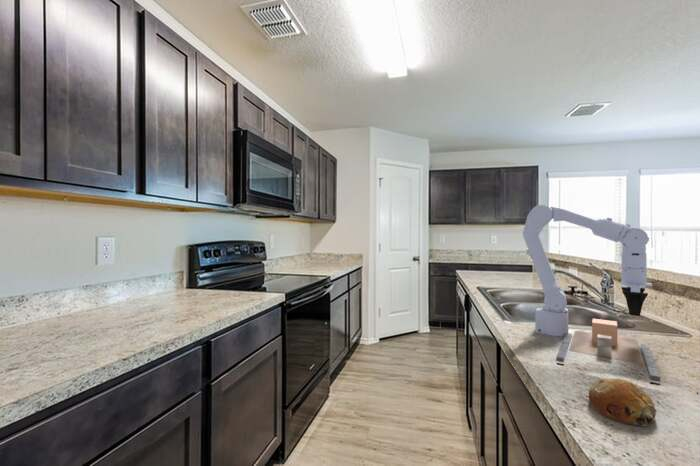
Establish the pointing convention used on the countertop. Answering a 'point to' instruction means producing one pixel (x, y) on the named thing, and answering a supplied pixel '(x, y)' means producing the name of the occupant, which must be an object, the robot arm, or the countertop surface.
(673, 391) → the countertop surface
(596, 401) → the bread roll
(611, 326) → the terracotta block
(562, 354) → the guide rails
